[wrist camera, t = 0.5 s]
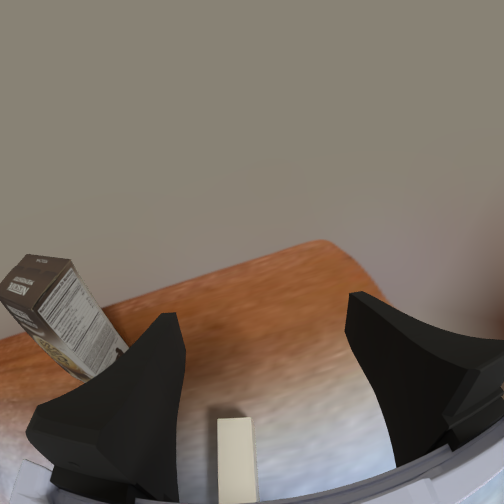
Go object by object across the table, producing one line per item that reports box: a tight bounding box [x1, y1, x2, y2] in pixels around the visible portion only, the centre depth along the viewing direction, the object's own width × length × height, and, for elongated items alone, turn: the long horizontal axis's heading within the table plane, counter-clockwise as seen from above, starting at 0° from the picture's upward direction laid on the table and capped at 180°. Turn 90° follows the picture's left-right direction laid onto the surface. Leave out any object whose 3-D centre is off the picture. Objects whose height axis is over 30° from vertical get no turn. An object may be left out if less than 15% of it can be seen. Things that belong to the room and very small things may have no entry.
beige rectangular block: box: [218, 417, 260, 504], centre depth 18 cm, size 12×3×3 cm, turn 3°
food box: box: [0, 254, 129, 383], centre depth 24 cm, size 9×6×16 cm
